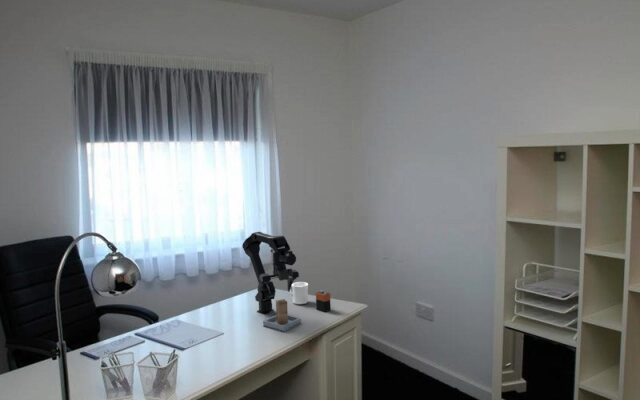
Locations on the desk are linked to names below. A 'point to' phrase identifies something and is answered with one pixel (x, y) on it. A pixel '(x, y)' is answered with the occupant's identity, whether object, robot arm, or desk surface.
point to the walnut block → (281, 312)
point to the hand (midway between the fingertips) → (279, 292)
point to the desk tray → (273, 324)
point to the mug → (300, 293)
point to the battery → (323, 301)
